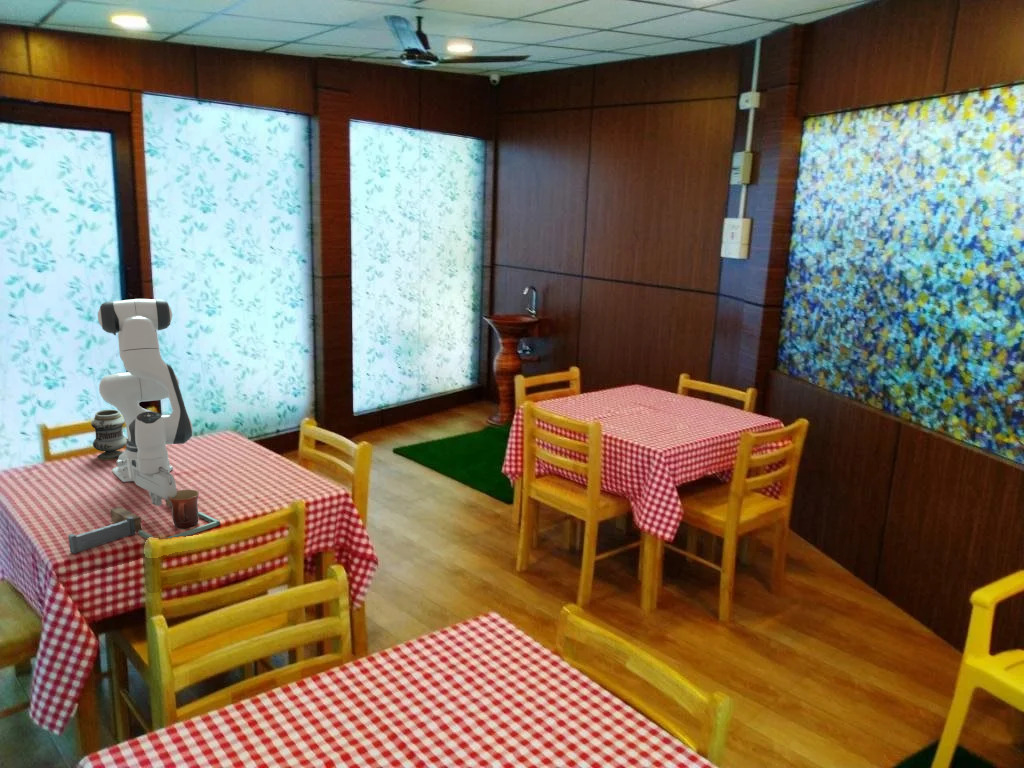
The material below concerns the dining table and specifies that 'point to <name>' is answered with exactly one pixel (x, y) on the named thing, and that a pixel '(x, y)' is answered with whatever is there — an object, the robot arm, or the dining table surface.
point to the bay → (192, 531)
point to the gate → (101, 535)
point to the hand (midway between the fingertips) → (157, 504)
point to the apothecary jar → (108, 434)
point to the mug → (185, 509)
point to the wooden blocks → (122, 514)
